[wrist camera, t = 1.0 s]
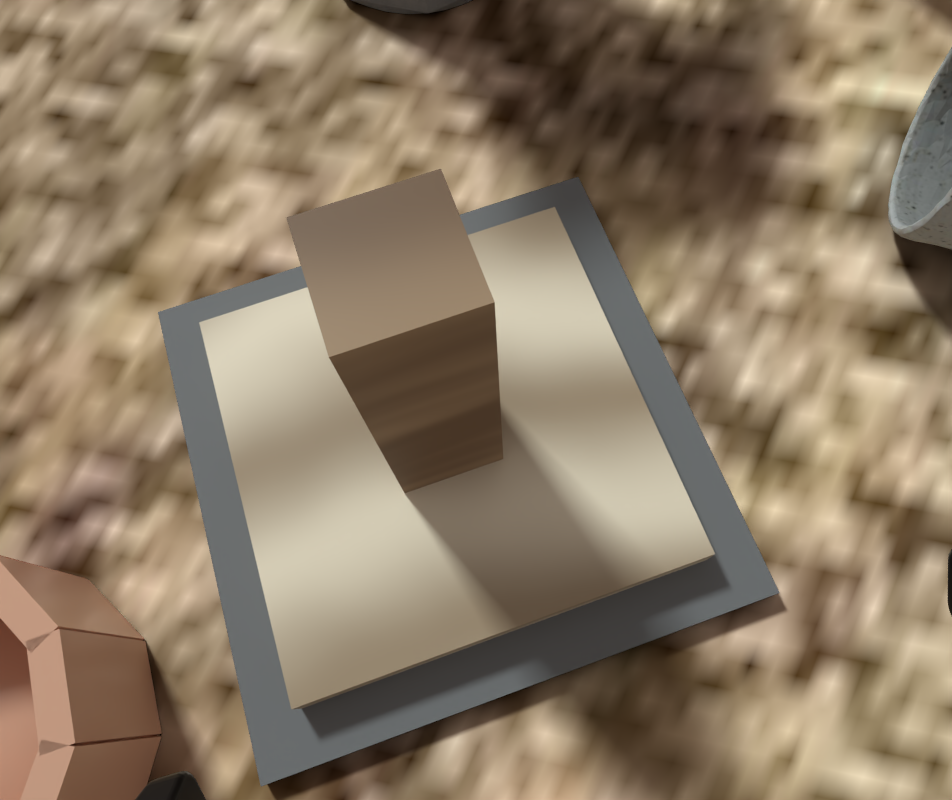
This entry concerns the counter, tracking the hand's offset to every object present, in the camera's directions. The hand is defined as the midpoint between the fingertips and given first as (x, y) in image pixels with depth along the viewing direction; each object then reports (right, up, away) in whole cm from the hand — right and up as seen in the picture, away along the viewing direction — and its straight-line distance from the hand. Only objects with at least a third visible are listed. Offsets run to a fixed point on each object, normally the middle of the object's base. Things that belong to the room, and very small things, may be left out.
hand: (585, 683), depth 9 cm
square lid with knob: (-2, +2, +15) cm, 15 cm away
